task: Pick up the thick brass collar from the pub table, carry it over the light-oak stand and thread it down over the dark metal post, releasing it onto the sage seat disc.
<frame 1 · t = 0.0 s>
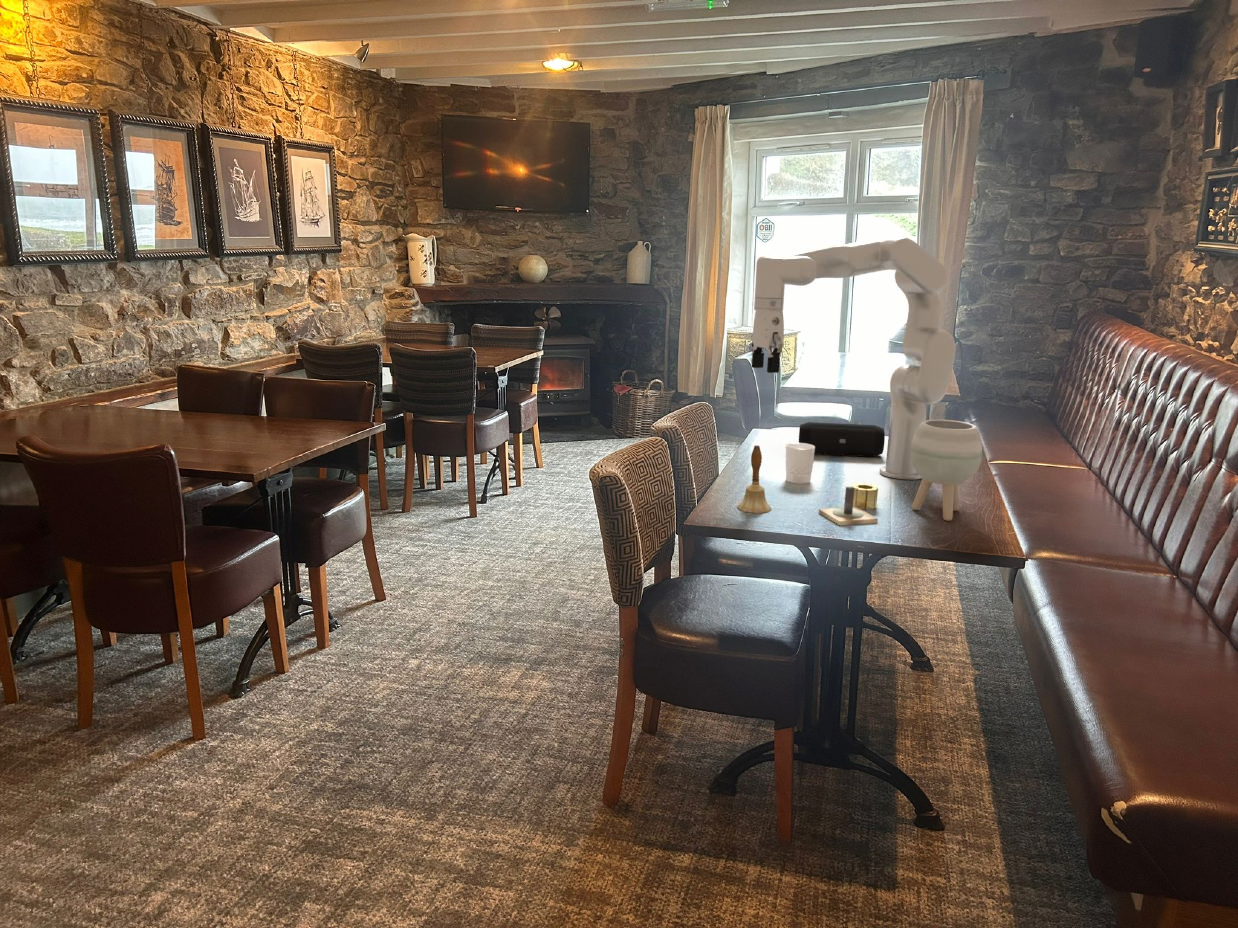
hand: (765, 370, 227), 31 cm above the table, fingers open, 9 cm apart
collar: (863, 506, 215), on the table
portable speaker: (839, 455, 270), on the table
post stand: (847, 517, 205), on the table
planter: (938, 514, 209), on the table
white cup: (798, 481, 238), on the table
hand bell: (754, 509, 211), on the table
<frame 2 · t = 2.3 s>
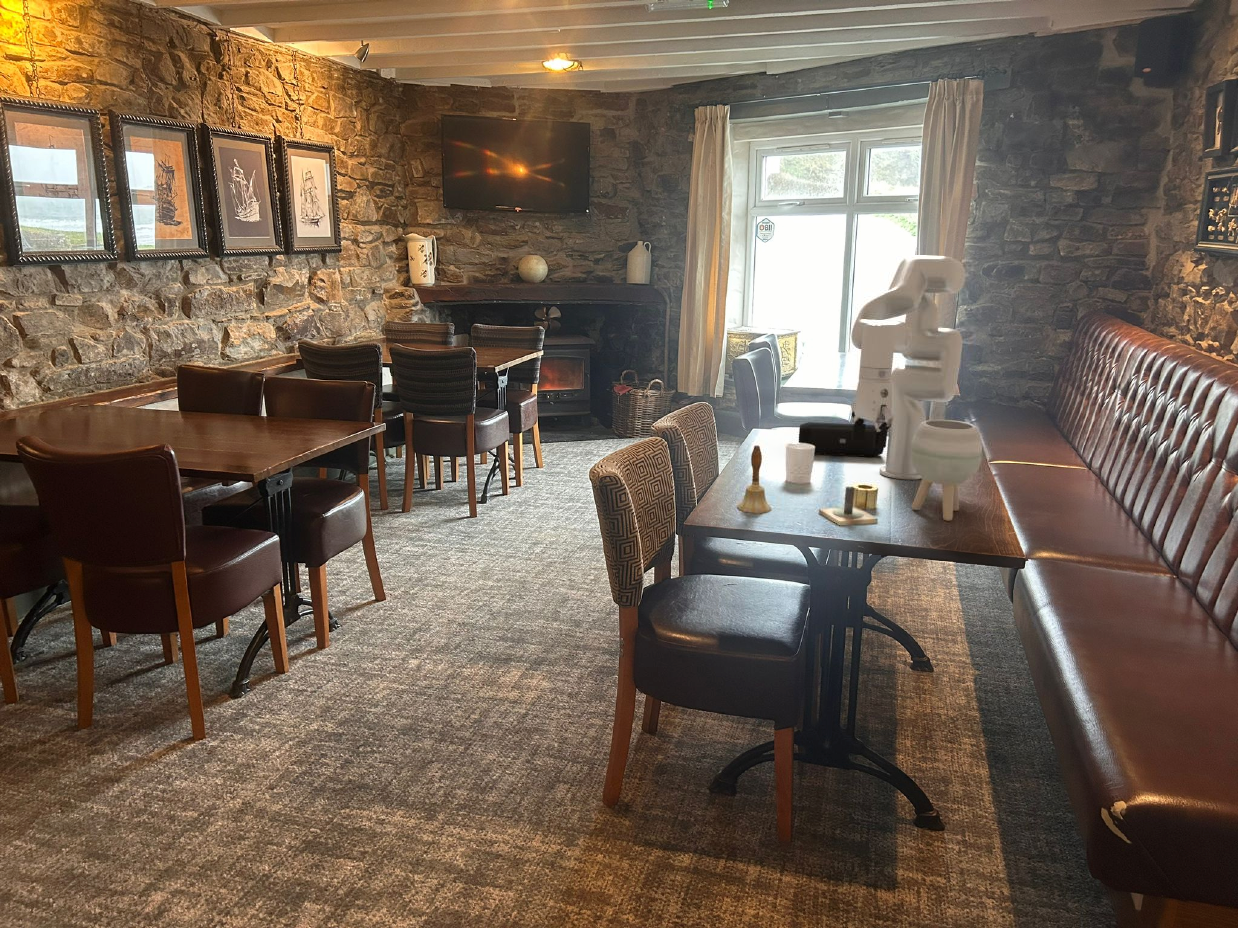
hand: (868, 443, 210), 16 cm above the table, fingers open, 9 cm apart
nothing on the table moved.
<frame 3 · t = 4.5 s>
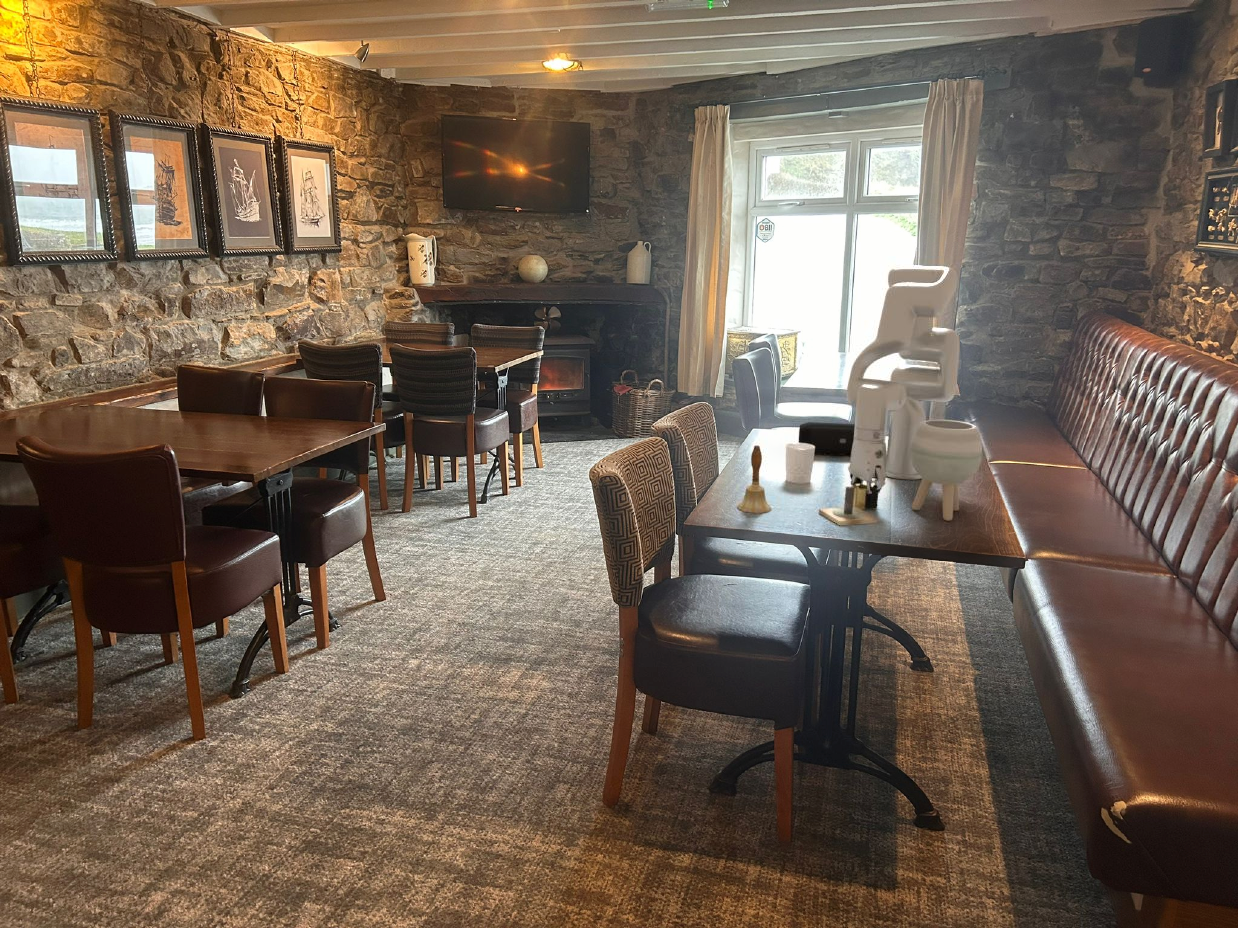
hand: (863, 503, 214), 1 cm above the table, fingers closed on collar, 6 cm apart
collar: (863, 506, 215), on the table, touching gripper
everything else where it was.
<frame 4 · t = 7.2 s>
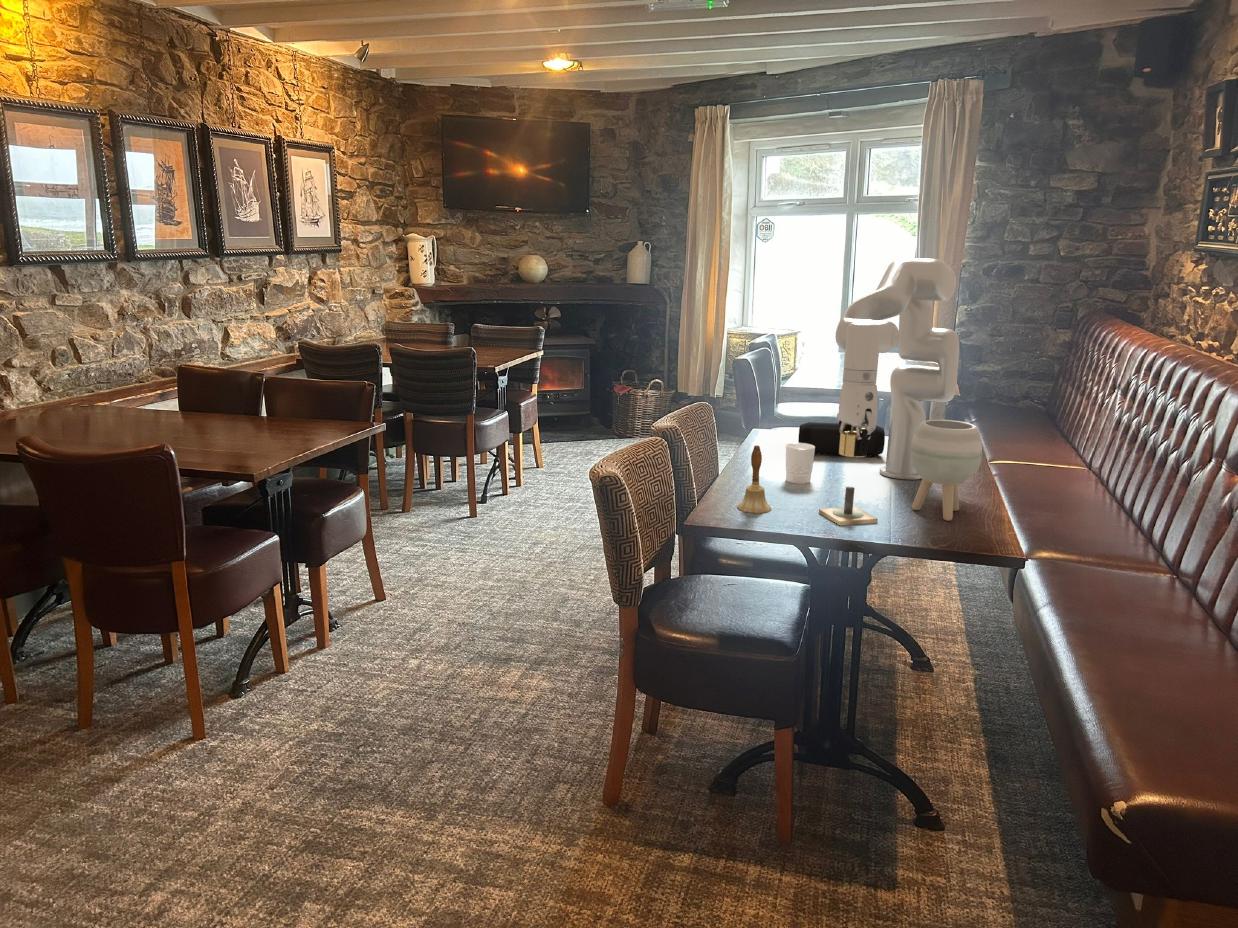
hand: (852, 452, 201), 16 cm above the table, fingers closed on collar, 6 cm apart
collar: (852, 454, 201), point 16 cm above the table, touching gripper
everything else where it was.
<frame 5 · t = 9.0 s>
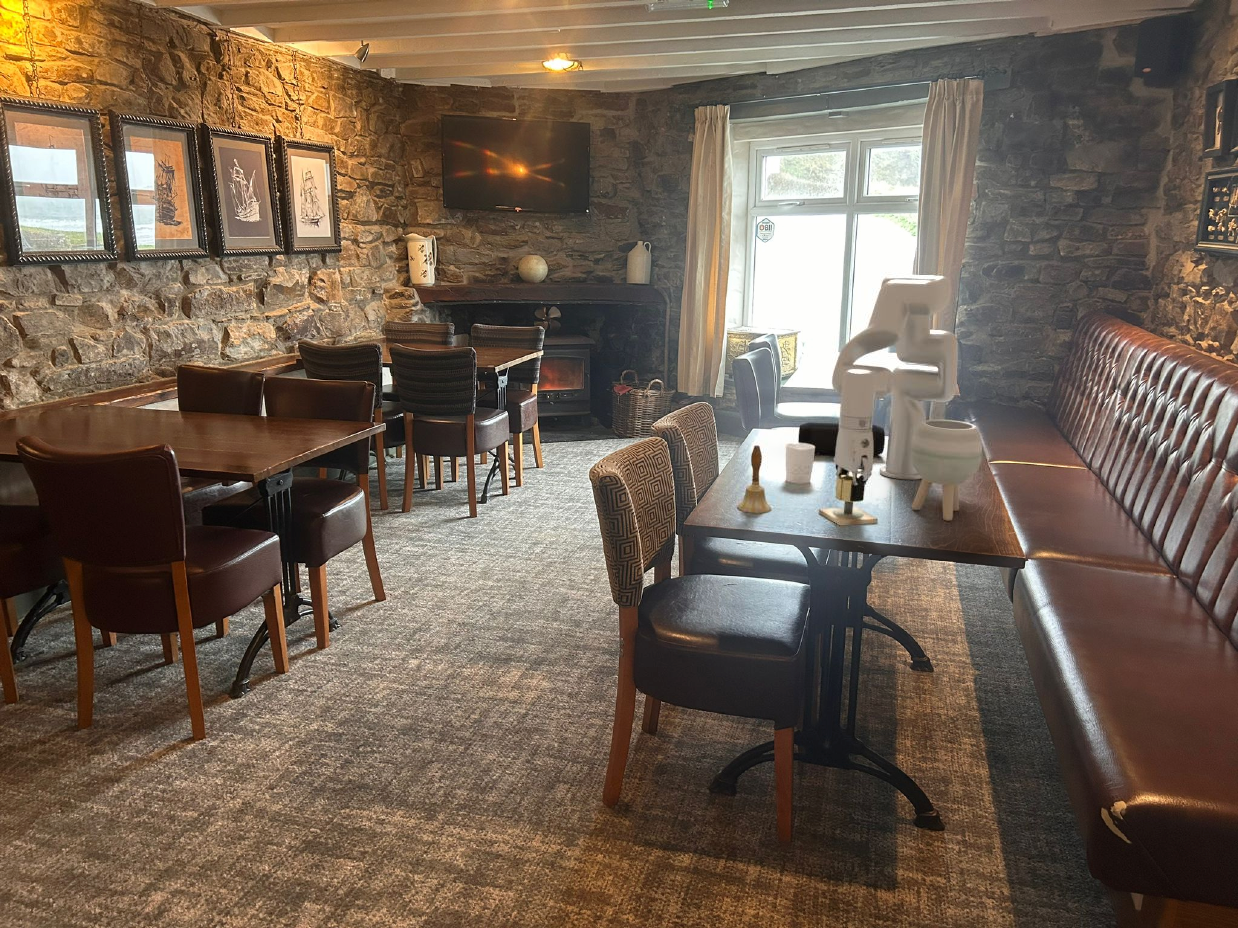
hand: (849, 496, 203), 5 cm above the table, fingers closed on collar, 6 cm apart
collar: (849, 498, 204), point 5 cm above the table, touching gripper
everything else where it was.
when the fingers open (4 cm above the table, at t = 10.1 s): collar drops 2 cm, resting on post stand.
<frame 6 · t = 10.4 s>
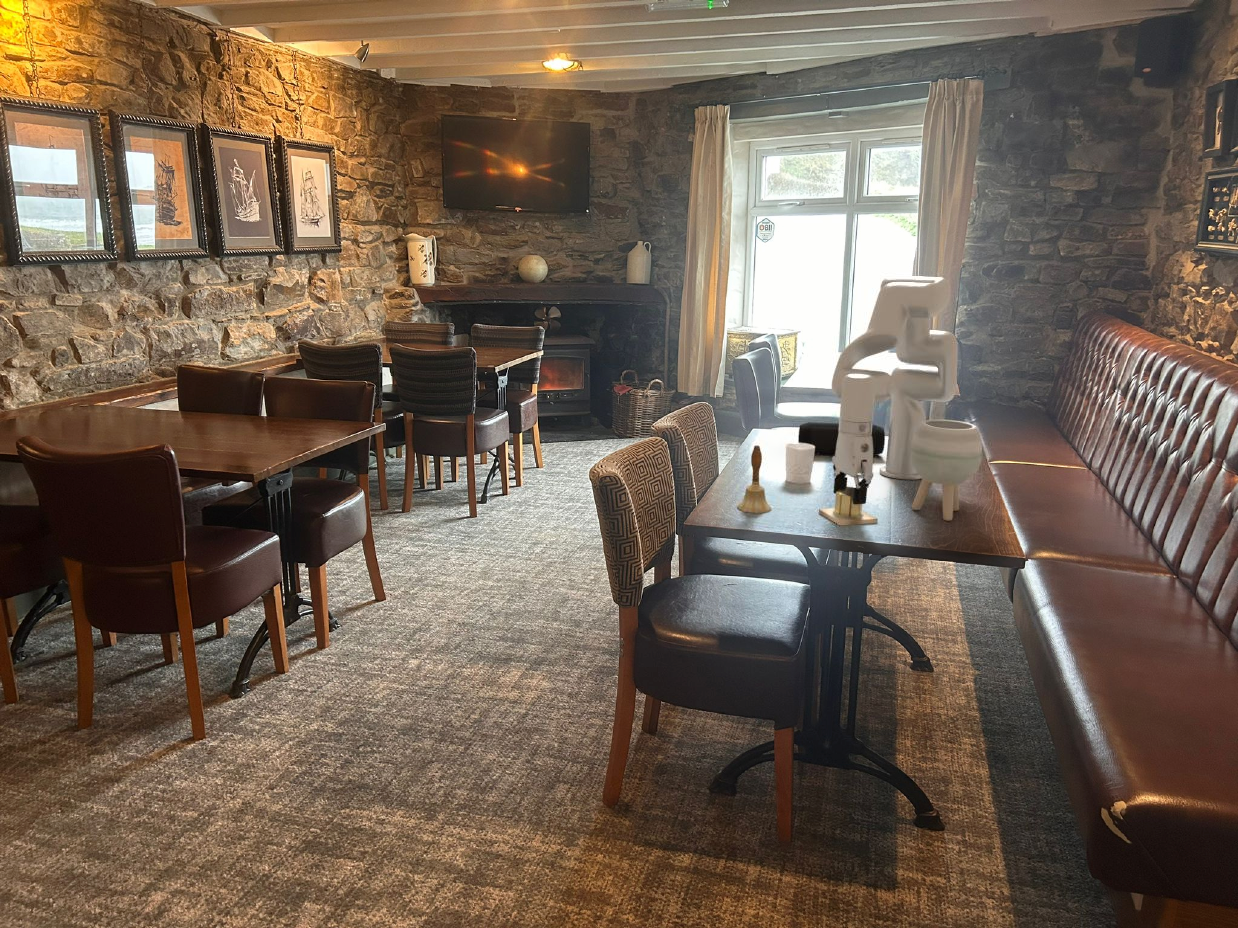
hand: (849, 498, 204), 5 cm above the table, fingers open, 8 cm apart
collar: (847, 512, 205), point 1 cm above the table, touching post stand
everything else where it was.
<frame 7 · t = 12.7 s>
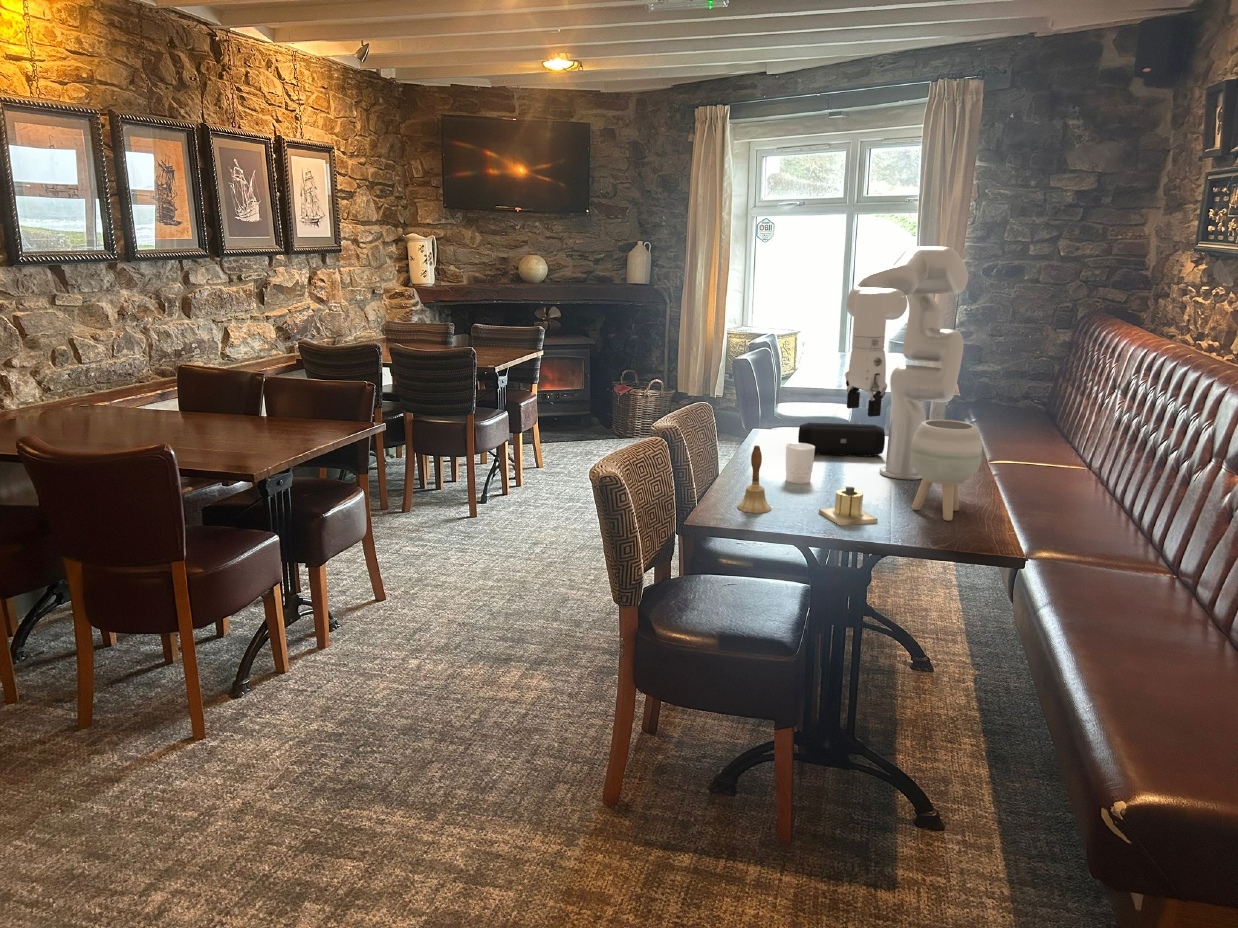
hand: (863, 412, 211), 24 cm above the table, fingers open, 9 cm apart
nothing on the table moved.
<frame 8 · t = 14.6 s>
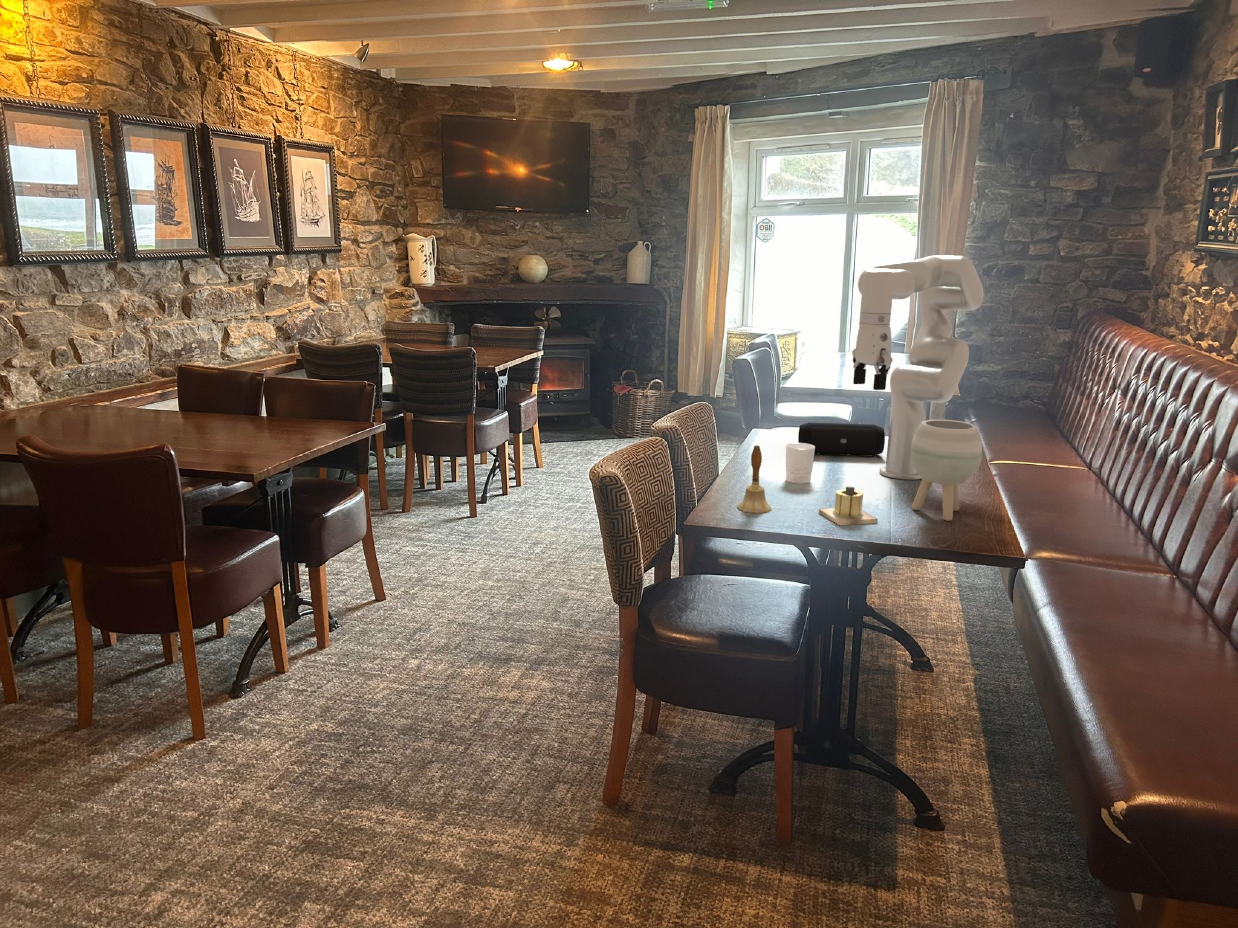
hand: (868, 386, 221), 28 cm above the table, fingers open, 9 cm apart
nothing on the table moved.
at the end: collar 0.1 cm off-centre on the post stand, point 1.2 cm above the post stand's base; collar tilted 0°; the gripper is holding nothing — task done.
